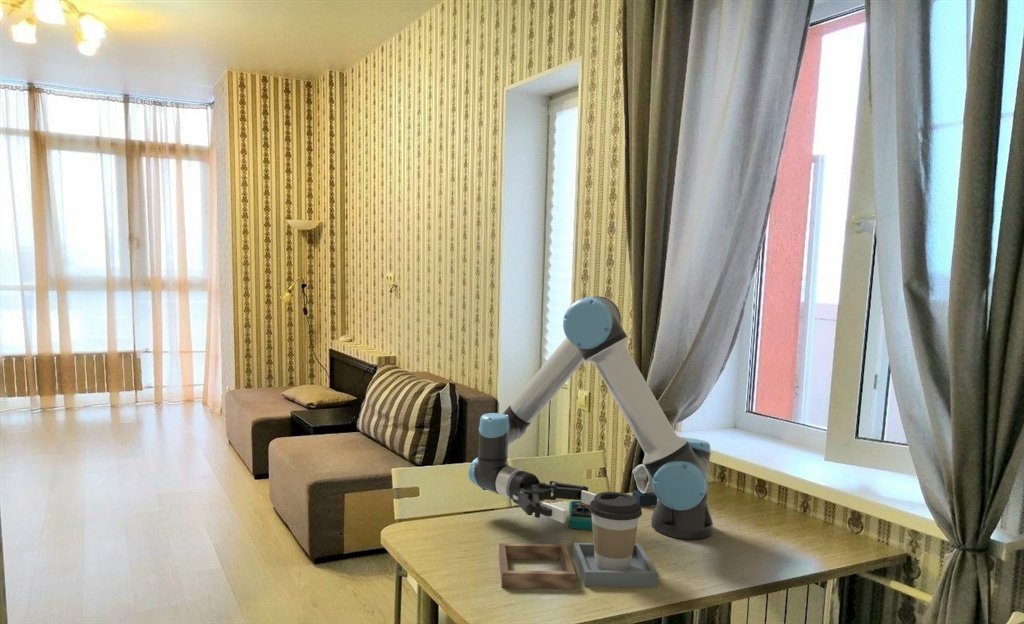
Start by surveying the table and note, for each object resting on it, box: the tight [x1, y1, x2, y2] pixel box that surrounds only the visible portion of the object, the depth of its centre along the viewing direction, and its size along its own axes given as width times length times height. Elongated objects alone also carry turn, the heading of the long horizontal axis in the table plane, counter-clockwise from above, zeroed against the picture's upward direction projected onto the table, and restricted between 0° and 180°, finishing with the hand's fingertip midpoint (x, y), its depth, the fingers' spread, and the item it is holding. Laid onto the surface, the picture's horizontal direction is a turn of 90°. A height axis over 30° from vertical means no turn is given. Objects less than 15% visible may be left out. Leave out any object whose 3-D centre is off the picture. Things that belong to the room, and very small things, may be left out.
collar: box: [498, 542, 577, 589], centre depth 145 cm, size 15×15×3 cm
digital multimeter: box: [568, 500, 593, 531], centre depth 178 cm, size 7×15×3 cm, turn 174°
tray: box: [572, 542, 658, 588], centre depth 147 cm, size 15×15×3 cm
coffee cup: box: [589, 491, 643, 571], centre depth 147 cm, size 11×11×15 cm
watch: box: [631, 463, 658, 508], centre depth 191 cm, size 6×8×11 cm
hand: (584, 510), depth 153 cm, fingers open, 13 cm apart
